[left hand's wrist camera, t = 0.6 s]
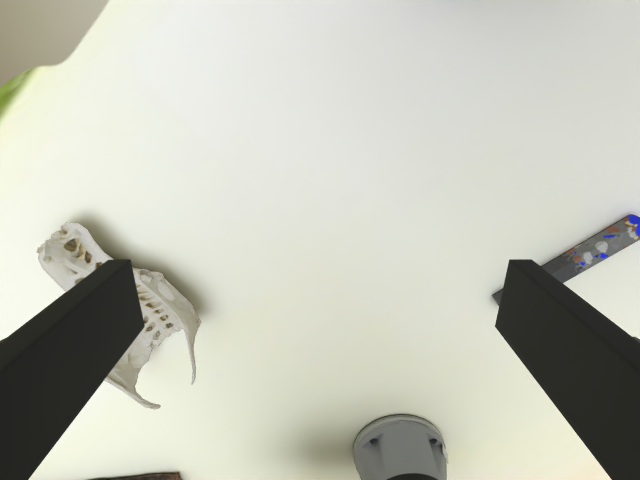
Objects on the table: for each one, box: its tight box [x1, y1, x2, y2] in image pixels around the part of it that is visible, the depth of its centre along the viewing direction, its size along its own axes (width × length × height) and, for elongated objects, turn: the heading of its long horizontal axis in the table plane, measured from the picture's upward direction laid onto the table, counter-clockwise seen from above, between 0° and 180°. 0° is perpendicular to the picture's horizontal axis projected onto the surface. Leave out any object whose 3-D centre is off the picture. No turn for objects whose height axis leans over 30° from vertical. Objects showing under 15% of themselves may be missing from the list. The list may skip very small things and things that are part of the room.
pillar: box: [492, 214, 640, 306], centre depth 47 cm, size 2×2×20 cm
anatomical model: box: [37, 222, 201, 410], centre depth 46 cm, size 15×9×25 cm
